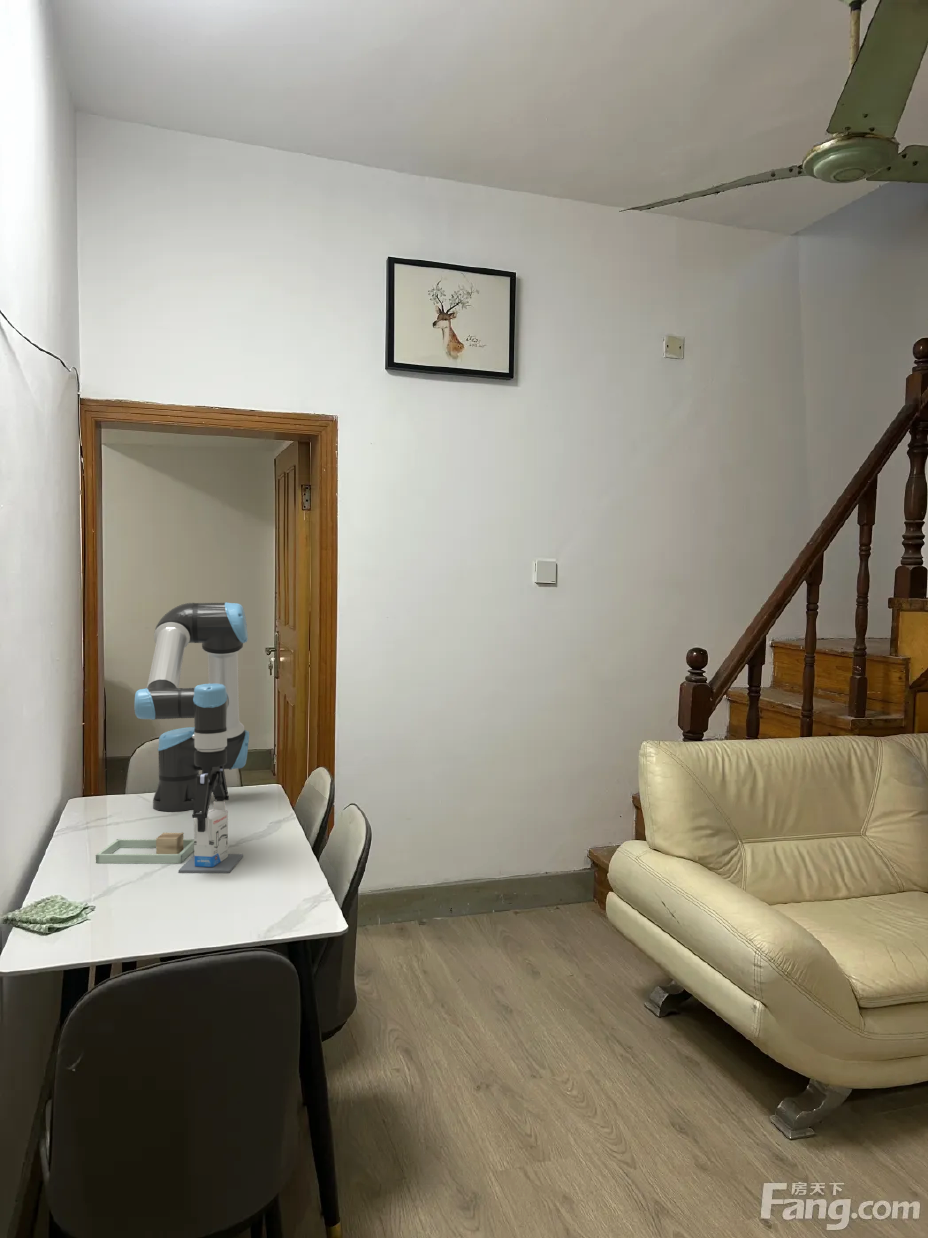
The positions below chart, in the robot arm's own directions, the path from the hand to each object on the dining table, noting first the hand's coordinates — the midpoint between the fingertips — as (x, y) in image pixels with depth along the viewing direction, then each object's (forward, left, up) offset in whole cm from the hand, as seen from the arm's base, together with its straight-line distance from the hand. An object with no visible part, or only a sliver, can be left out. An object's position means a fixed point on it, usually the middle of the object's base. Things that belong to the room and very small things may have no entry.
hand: (211, 835), depth 202 cm
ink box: (0, 0, -7) cm, 7 cm away
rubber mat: (0, 0, -7) cm, 7 cm away
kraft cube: (-7, -12, -7) cm, 16 cm away
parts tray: (-7, -18, -7) cm, 20 cm away
